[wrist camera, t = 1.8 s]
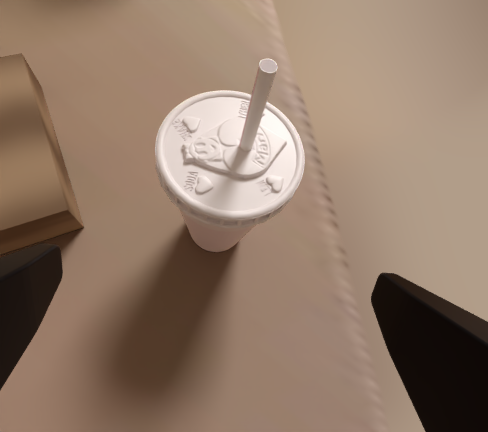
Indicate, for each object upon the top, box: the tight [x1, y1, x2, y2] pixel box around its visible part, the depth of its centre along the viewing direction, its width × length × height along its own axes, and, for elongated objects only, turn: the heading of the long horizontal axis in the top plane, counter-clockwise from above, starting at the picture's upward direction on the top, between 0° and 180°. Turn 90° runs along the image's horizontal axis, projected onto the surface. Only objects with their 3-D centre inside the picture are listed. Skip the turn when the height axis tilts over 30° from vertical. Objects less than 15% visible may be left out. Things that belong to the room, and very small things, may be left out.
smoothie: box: [155, 59, 305, 252], centre depth 16 cm, size 6×6×14 cm
